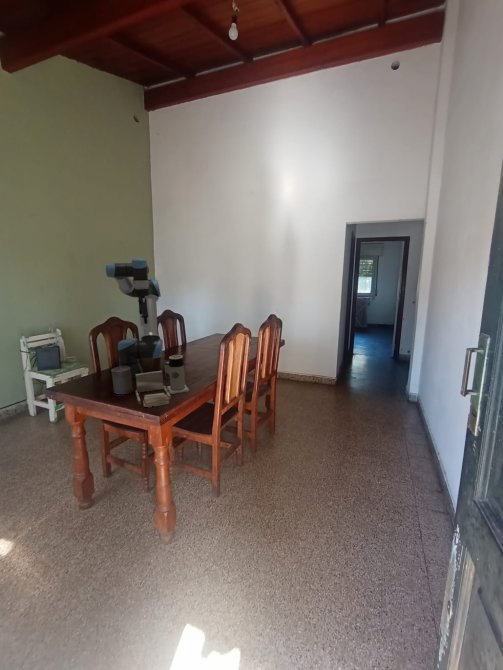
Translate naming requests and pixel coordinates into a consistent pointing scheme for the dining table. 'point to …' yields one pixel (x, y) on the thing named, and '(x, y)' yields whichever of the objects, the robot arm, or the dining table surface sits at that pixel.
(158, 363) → the dining table surface
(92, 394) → the dining table surface
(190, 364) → the dining table surface
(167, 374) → the food container
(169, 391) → the mat
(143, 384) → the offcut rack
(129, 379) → the pillar candle
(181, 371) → the travel mug
